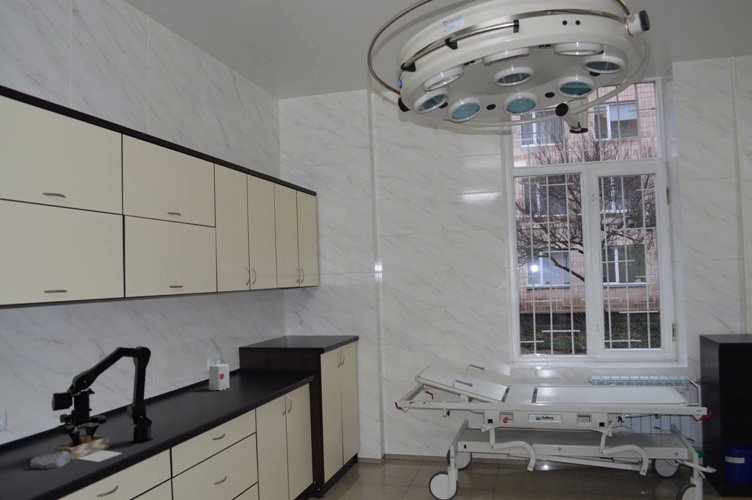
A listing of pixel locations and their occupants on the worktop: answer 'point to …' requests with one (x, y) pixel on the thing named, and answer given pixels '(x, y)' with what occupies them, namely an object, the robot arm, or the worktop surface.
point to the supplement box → (218, 376)
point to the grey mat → (99, 456)
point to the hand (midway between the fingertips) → (82, 446)
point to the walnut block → (84, 439)
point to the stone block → (51, 460)
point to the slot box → (84, 447)
